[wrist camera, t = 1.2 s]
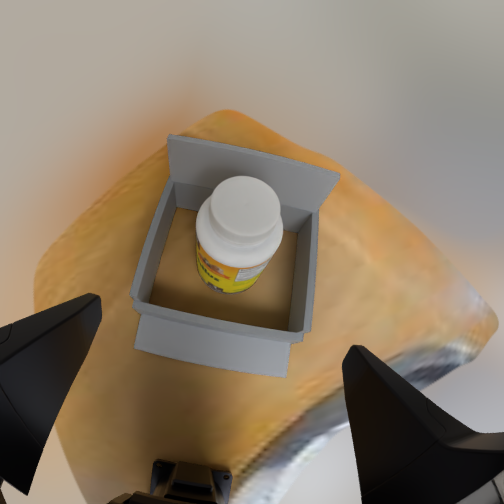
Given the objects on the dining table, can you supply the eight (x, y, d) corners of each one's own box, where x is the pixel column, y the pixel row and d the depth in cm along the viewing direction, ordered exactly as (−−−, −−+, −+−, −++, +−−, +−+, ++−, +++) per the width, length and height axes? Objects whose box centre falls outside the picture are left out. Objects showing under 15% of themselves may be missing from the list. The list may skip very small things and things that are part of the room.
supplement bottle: (188, 247, 24) (183, 176, 15) (245, 230, 26) (269, 156, 17) (209, 306, 23) (216, 263, 13) (269, 284, 24) (311, 231, 15)
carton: (288, 377, 21) (337, 383, 13) (131, 347, 20) (90, 336, 12) (304, 229, 27) (343, 174, 19) (172, 200, 26) (165, 133, 18)
